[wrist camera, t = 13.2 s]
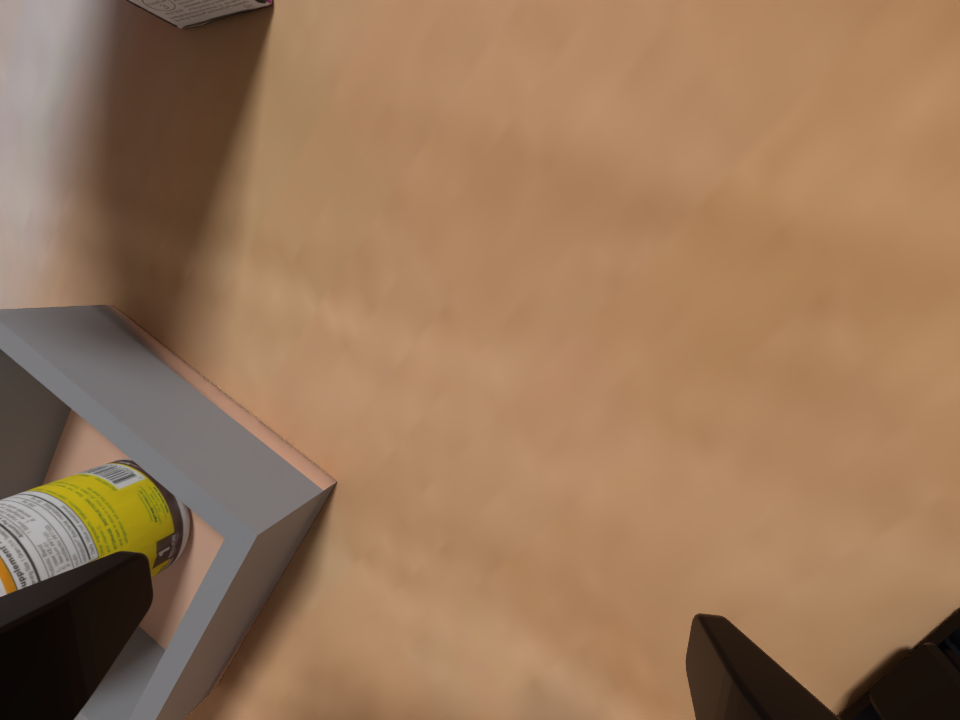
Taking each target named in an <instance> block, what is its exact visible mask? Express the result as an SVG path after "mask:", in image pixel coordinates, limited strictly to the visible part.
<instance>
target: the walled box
mask: <svg viewBox="0 0 960 720" xmlns="http://www.w3.org/2000/svg"><path fill="white" fill-rule="evenodd" d="M129 458H130V459H132V460H133V461H134V462H135V463H136V464H137V465H139V466H140V467H141V468H142V469H143V470H145V471H146V472H147V473H148V474H149V475H150V476H152V477H153V478H154V479H155V480H156V481H158V482H159V483H160V484H161V485H162V486H164V487H165V488H166V489H167V490H168V491H169V492H171V493H172V494H173V495H174V496H175V497H177V498H178V499H179V500H180V501H181V502H182V503H184V504H185V505H186V506H187V507H188V512H189V518H190V529H189V536H188V540H187V543H186V546H185V548H184V550H183V552H182V553H181V555H180V556H179V558H178V559H177V560H176V561H175V562H174V563H173V564H172V565H171V566H169V567H168V568H166V569H165V570H163V571H162V572H160V573H159V574H157V575H156V576H154V577H152V585H153V592H154V596H153V601H152V604H151V607H150V609H149V611H148V612H147V614H146V615H145V617H144V618H143V620H142V621H141V623H140V624H139V626H138V627H137V629H136V630H135V632H134V633H133V635H132V636H131V638H130V639H129V641H128V642H127V644H126V646H125V647H124V649H123V650H122V652H121V653H120V655H119V656H118V658H117V659H116V661H115V662H114V664H113V665H112V667H111V668H110V670H109V671H108V673H107V674H106V676H105V677H104V679H103V680H102V682H101V683H100V685H99V686H98V688H97V689H96V690H95V692H94V693H93V695H92V696H91V698H90V699H89V701H88V702H87V703H86V705H85V706H84V707H83V709H82V710H81V711H80V712H79V714H78V715H77V716H76V718H75V719H74V720H183V719H184V718H185V717H186V716H187V715H188V714H189V713H190V712H191V711H192V710H193V709H194V708H195V707H196V706H197V705H198V704H199V703H200V702H201V701H202V700H203V699H204V698H205V697H206V696H207V695H208V694H209V693H210V692H211V691H212V690H213V689H214V688H215V687H216V686H217V685H218V683H219V681H220V680H221V678H222V676H223V674H224V673H225V671H226V669H227V668H228V666H229V664H230V663H231V661H232V659H233V657H234V656H235V654H236V652H237V651H238V649H239V647H240V646H241V644H242V642H243V640H244V639H245V637H246V635H247V634H248V632H249V630H250V629H251V627H252V625H253V623H254V622H255V620H256V618H257V617H258V615H259V613H260V612H261V610H262V608H263V606H264V605H265V603H266V601H267V600H268V598H269V596H270V595H271V593H272V591H273V589H274V588H275V586H276V584H277V583H278V581H279V579H280V578H281V576H282V574H283V572H284V571H285V569H286V567H287V566H288V564H289V562H290V561H291V559H292V557H293V555H294V554H295V552H296V550H297V549H298V547H299V545H300V544H301V542H302V540H303V538H304V537H305V535H306V533H307V532H308V530H309V528H310V526H311V525H312V523H313V521H314V520H315V518H316V516H317V515H318V513H319V511H320V509H321V508H322V506H323V504H324V503H325V501H326V499H327V498H328V496H329V494H330V492H331V491H332V489H333V487H334V486H335V484H336V481H335V480H334V479H333V478H331V477H330V476H329V475H328V474H326V473H325V472H324V471H322V470H321V469H320V468H319V467H317V466H316V465H315V464H314V463H312V462H311V461H310V460H308V459H307V458H306V457H305V456H303V455H302V454H301V453H300V452H298V451H297V450H296V449H294V448H293V447H292V446H291V445H289V444H288V443H287V442H286V441H284V440H283V439H282V438H280V437H279V436H278V435H277V434H275V433H274V432H273V431H272V430H270V429H269V428H268V427H266V426H265V425H264V424H263V423H261V422H260V421H259V420H258V419H256V418H255V417H254V416H252V415H251V414H250V413H249V412H247V411H246V410H245V409H244V408H242V407H241V406H240V405H238V404H237V403H236V402H235V401H233V400H232V399H231V398H230V397H228V396H227V395H226V394H224V393H223V392H222V391H221V390H219V389H218V388H217V387H216V386H214V385H213V384H212V383H210V382H209V381H208V380H207V379H205V378H204V377H203V376H202V375H200V374H199V373H198V372H196V371H195V370H194V369H193V368H191V367H190V366H189V365H188V364H186V363H185V362H184V361H182V360H181V359H180V358H179V357H177V356H176V355H175V354H174V353H172V352H171V351H170V350H168V349H167V348H166V347H165V346H163V345H162V344H161V343H160V342H158V341H157V340H156V339H154V338H153V337H152V336H151V335H149V334H148V333H147V332H146V331H144V330H143V329H142V328H140V327H139V326H138V325H137V324H135V323H134V322H133V321H132V320H130V319H129V318H128V317H126V316H125V315H124V314H123V313H121V312H120V311H119V310H118V309H116V308H115V307H114V306H112V305H92V306H69V307H47V308H24V309H1V310H0V500H2V499H5V498H8V497H11V496H13V495H16V494H19V493H22V492H25V491H28V490H30V489H33V488H36V487H39V486H42V485H45V484H48V483H51V482H54V481H57V480H60V479H63V478H66V477H69V476H72V475H74V474H77V473H80V472H83V471H86V470H89V469H92V468H95V467H98V466H101V465H104V464H107V463H110V462H113V461H117V460H120V459H129Z"/></svg>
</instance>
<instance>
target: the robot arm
mask: <svg viewBox="0 0 960 720" xmlns="http://www.w3.org/2000/svg"><path fill="white" fill-rule="evenodd" d="M153 596H154V592H153V585H152V578H151V571H150V563H149V559H148V557H147V556H146V555H145V554H143V553H140V552H131V551H119V552H115V553H113V554H110V555H108V556H105V557H102V558H100V559H97V560H95V561H92V562H89V563H87V564H84V565H82V566H79V567H76V568H74V569H71V570H69V571H66V572H63V573H61V574H58V575H56V576H53V577H50V578H48V579H45V580H43V581H40V582H38V583H35V584H32V585H30V586H27V587H25V588H22V589H19V590H17V591H14V592H12V593H9V594H6V595H4V596H1V597H0V720H74V719H75V718H76V716H77V715H78V714H79V712H80V711H81V710H82V709H83V707H84V706H85V705H86V703H87V702H88V701H89V699H90V698H91V696H92V695H93V693H94V692H95V690H96V689H97V688H98V686H99V685H100V683H101V682H102V680H103V679H104V677H105V676H106V674H107V673H108V671H109V670H110V668H111V667H112V665H113V664H114V662H115V661H116V659H117V658H118V656H119V655H120V653H121V652H122V650H123V649H124V647H125V646H126V644H127V642H128V641H129V639H130V638H131V636H132V635H133V633H134V632H135V630H136V629H137V627H138V626H139V624H140V623H141V621H142V620H143V618H144V617H145V615H146V614H147V612H148V611H149V609H150V607H151V604H152V601H153ZM686 672H687V677H688V682H689V687H690V692H691V697H692V702H693V707H694V712H695V717H696V720H960V612H959V613H958V614H956V615H955V616H954V617H953V618H952V619H951V620H950V621H948V622H947V623H946V624H945V625H944V626H943V627H942V628H940V629H939V630H938V631H937V632H936V633H935V634H934V635H932V636H931V637H930V638H929V639H928V640H927V641H926V642H924V643H923V644H922V645H920V646H919V647H918V648H917V649H916V650H915V651H914V652H912V653H911V654H910V655H909V656H908V657H907V658H906V659H904V660H903V661H902V662H901V663H900V664H899V665H898V666H897V667H895V668H894V669H893V670H892V671H891V672H890V673H889V674H887V675H886V676H885V677H884V678H883V679H882V680H881V681H879V682H878V683H877V684H876V685H875V686H874V687H873V688H871V689H870V691H869V692H867V693H866V694H865V695H864V696H863V697H862V698H861V699H859V700H858V701H857V702H856V703H855V704H854V705H853V706H851V707H850V708H849V709H848V710H847V711H846V712H845V713H843V714H842V715H841V716H840V718H839V717H837V716H836V715H835V714H834V713H833V712H832V711H831V710H829V709H828V708H827V707H826V706H825V705H824V704H823V703H822V702H820V701H819V700H818V699H817V698H816V697H815V696H814V695H812V694H811V693H810V692H809V691H808V690H807V689H806V688H805V687H803V686H802V685H801V684H800V683H799V682H798V681H797V680H795V679H794V678H793V677H792V676H791V675H790V674H789V673H788V672H786V671H785V670H784V669H783V668H782V667H781V666H780V665H778V664H777V663H776V662H775V661H774V660H773V659H772V658H771V657H769V656H768V655H767V654H766V653H765V652H764V651H763V650H761V649H760V648H759V647H758V646H757V645H756V644H755V643H754V642H752V641H751V640H750V639H749V638H748V637H747V636H746V635H744V634H743V633H742V632H741V631H740V630H739V629H738V628H737V627H735V626H734V625H733V624H732V623H731V622H730V621H729V620H727V619H726V618H725V617H723V616H719V615H711V614H701V613H699V614H697V615H695V616H694V618H693V621H692V626H691V631H690V637H689V643H688V648H687V654H686Z"/></svg>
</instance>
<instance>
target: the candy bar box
mask: <svg viewBox="0 0 960 720" xmlns="http://www.w3.org/2000/svg"><path fill="white" fill-rule="evenodd" d="M127 1H128V2H130V3H132V4H134V5H136V6H137V7H139V8H142V9H143V10H145V11H147V12H149V13H151V14H152V15H154V16H156V17H158V18H160V19H162V20H164V21H165V22H167V23H170V24H172V25H173V26H175V27H177V28H180V29H184V28H190V27H195V26H200V25H203V24H207V23H209V22H211V21H214V20H216V19H219V18H222V17H226V16H230V15H234V14H239V13H243V12H247V11H252V10H255V9H258V8H261V7H265V6H269V5H271V4H272V0H127Z"/></svg>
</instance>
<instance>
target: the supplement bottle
mask: <svg viewBox="0 0 960 720" xmlns="http://www.w3.org/2000/svg"><path fill="white" fill-rule="evenodd" d="M189 529H190V518H189V512H188V507H187V506H186V505H185V504H184V503H182V502H181V501H180V500H179V499H178V498H177V497H175V496H174V495H173V494H172V493H171V492H169V491H168V490H167V489H166V488H165V487H164V486H162V485H161V484H160V483H159V482H158V481H156V480H155V479H154V478H153V477H152V476H150V475H149V474H148V473H147V472H146V471H145V470H143V469H142V468H141V467H140V466H139V465H137V464H136V463H135V462H134V461H133V460H132V459H130V458H129V459H120V460H117V461H113V462H110V463H107V464H104V465H101V466H98V467H95V468H92V469H89V470H86V471H83V472H80V473H77V474H74V475H72V476H69V477H66V478H63V479H60V480H57V481H54V482H51V483H48V484H45V485H42V486H39V487H36V488H33V489H30V490H28V491H25V492H22V493H19V494H16V495H13V496H11V497H8V498H5V499H2V500H0V597H1V596H4V595H6V594H9V593H12V592H14V591H17V590H19V589H22V588H25V587H27V586H30V585H32V584H35V583H38V582H40V581H43V580H45V579H48V578H50V577H53V576H56V575H58V574H61V573H63V572H66V571H69V570H71V569H74V568H76V567H79V566H82V565H84V564H87V563H89V562H92V561H95V560H97V559H100V558H102V557H105V556H108V555H110V554H113V553H115V552H119V551H131V552H140V553H143V554H145V555H146V556H147V557H148V559H149V563H150V571H151V578H152V577H154V576H156V575H157V574H159V573H160V572H162V571H163V570H165V569H166V568H168V567H169V566H171V565H172V564H173V563H174V562H175V561H176V560H177V559H178V558H179V556H180V555H181V553H182V552H183V550H184V548H185V546H186V543H187V540H188V536H189Z"/></svg>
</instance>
